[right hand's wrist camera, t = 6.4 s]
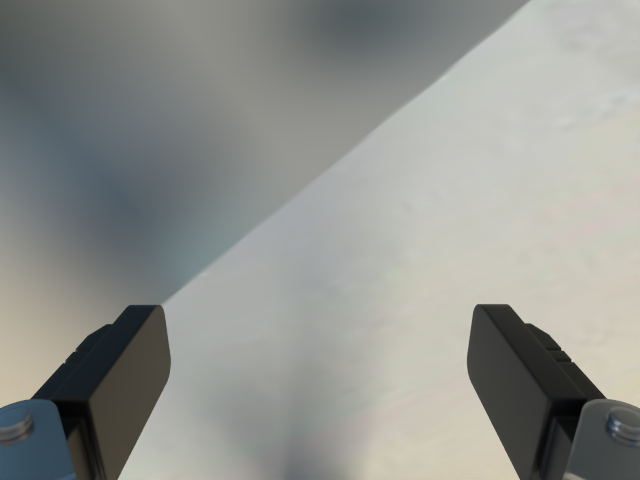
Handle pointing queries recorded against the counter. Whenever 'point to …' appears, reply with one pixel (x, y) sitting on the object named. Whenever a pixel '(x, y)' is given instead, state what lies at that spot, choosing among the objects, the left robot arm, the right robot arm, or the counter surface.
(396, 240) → the counter surface
